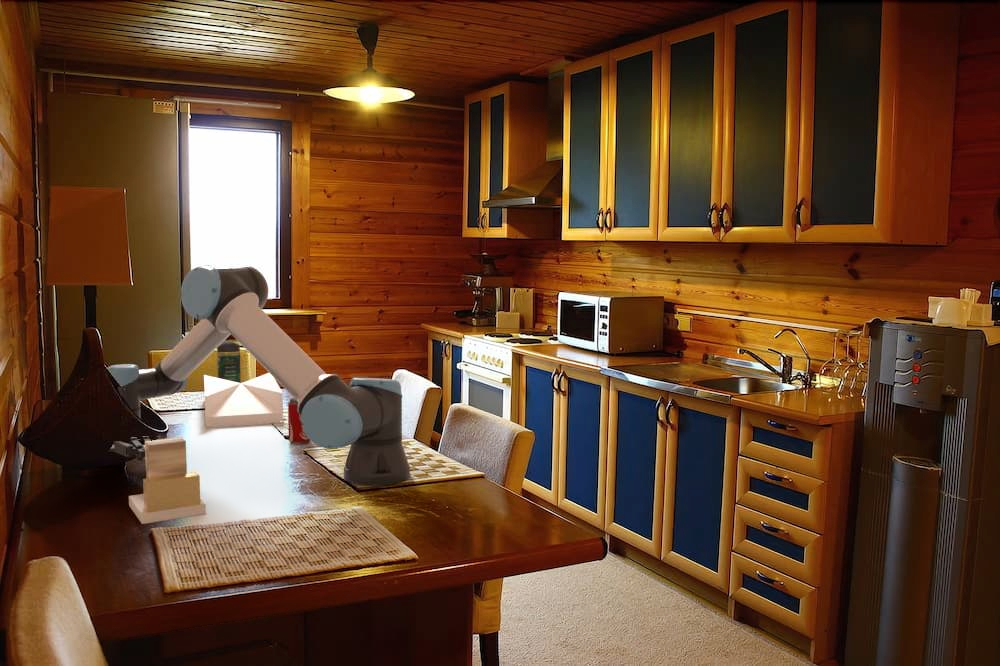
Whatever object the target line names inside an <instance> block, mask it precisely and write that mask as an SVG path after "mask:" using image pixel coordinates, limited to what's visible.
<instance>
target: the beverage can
mask: <svg viewBox="0 0 1000 666" xmlns="http://www.w3.org/2000/svg"><path fill="white" fill-rule="evenodd" d="M297 409H298V402H297V401H296V400H295V399H294V397H291V398H290V399H289V401H288V403H287V415H288V416H287V417H288V418H287V419H288V420H287V421H288V442H289V443H290V444H291V445H308V444H309V443H310V442H311V440H310V439H309V438H308V437H307V435H306V434H305V432H304V430H303V423H302V422H301V415H300V414H299V413H298V411H297Z"/></svg>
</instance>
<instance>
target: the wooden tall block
mask: <svg viewBox="0 0 1000 666" xmlns="http://www.w3.org/2000/svg"><path fill="white" fill-rule="evenodd" d="M186 443H187V441H186V440H185V439H184V438H183V437H181V436H180V437H171V438H167V439H161V440H152V441H145V459H144V460H145V476H146V477H145V479H147V478H154V477H162V476H169V475H176V474H184V473H188V470H187V469H188V467H187V465H188V464H187V444H186Z"/></svg>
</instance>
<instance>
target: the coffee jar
mask: <svg viewBox="0 0 1000 666" xmlns="http://www.w3.org/2000/svg"><path fill="white" fill-rule="evenodd" d="M240 347H241V346H240V343H237V342H236V341H233V340H224V341H223V342H222V343H221V344H220V345H219V346H218V347H217V348H216V357H217V358H216V359H217V360H216V361H217V378H220V379H225V380H229V381H233V382H238V383H242V381H241V380H242V379H241V348H240Z"/></svg>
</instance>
